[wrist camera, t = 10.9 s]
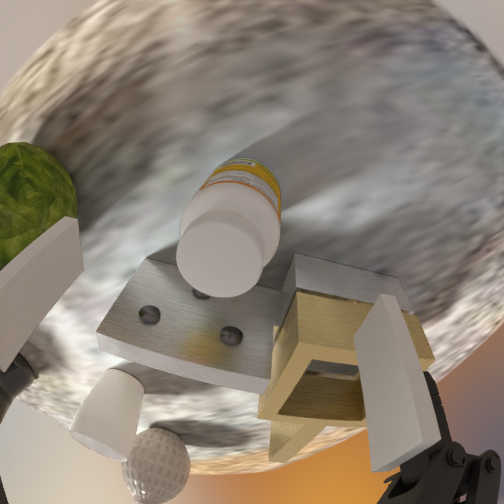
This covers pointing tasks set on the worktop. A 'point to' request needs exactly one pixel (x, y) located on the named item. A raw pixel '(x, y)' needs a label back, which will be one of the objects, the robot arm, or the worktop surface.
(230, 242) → the supplement bottle
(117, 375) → the cup
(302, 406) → the beige square frame
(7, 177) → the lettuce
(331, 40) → the worktop surface
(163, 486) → the vase
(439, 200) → the worktop surface
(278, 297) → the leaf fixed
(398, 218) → the worktop surface
